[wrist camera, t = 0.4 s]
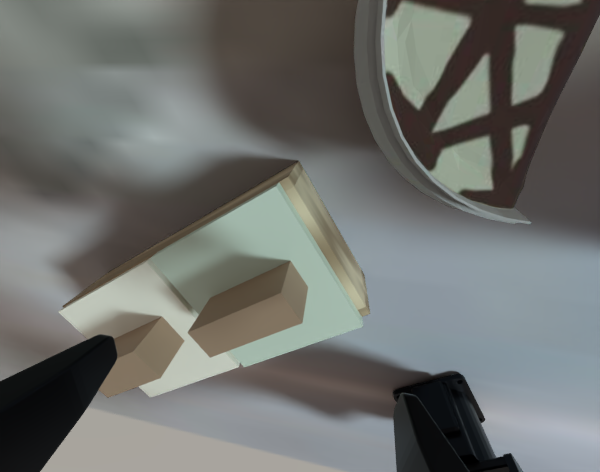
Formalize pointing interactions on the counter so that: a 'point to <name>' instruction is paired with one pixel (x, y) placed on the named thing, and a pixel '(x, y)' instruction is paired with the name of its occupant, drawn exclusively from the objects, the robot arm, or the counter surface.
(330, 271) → the cover
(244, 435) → the counter surface
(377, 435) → the counter surface
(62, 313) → the lid
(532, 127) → the food container
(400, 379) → the counter surface
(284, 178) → the box
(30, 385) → the robot arm
